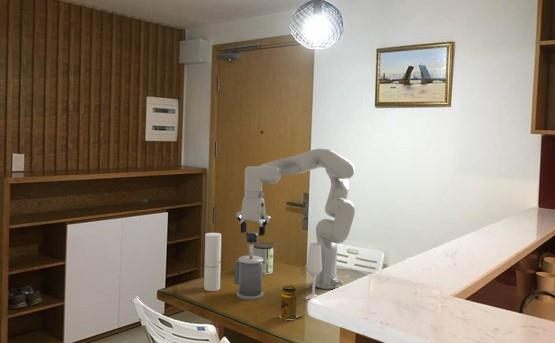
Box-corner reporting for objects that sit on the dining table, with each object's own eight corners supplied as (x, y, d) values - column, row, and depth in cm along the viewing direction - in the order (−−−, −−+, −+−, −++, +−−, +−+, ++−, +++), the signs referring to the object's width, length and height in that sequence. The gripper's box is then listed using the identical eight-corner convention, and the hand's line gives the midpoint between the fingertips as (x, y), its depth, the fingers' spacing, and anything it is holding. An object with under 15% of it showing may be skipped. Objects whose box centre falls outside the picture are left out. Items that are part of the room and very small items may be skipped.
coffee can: (254, 268, 259) (255, 242, 258) (273, 269, 258) (274, 243, 257) (251, 273, 249) (252, 246, 248) (271, 275, 248) (272, 247, 247)
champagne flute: (302, 296, 217) (305, 242, 215) (316, 294, 220) (318, 242, 218) (309, 301, 211) (312, 246, 209) (323, 299, 214) (326, 245, 212)
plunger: (259, 258, 216) (259, 233, 215) (252, 260, 212) (253, 234, 211) (249, 256, 219) (250, 231, 218) (243, 258, 214) (243, 233, 213)
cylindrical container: (222, 287, 226) (224, 233, 224) (214, 292, 219) (215, 236, 217) (209, 285, 229) (210, 232, 227) (201, 289, 222) (202, 234, 220)
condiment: (275, 317, 192) (277, 287, 191) (289, 311, 198) (290, 282, 197) (290, 322, 187) (291, 291, 186) (304, 316, 194) (305, 286, 193)
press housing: (268, 294, 218) (269, 258, 217) (253, 301, 208) (254, 263, 207) (243, 288, 225) (244, 253, 224) (227, 295, 216) (228, 258, 214)
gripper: (274, 195, 212) (274, 235, 213) (242, 192, 221) (241, 230, 222) (265, 197, 205) (264, 238, 207) (232, 194, 214) (231, 232, 216)
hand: (252, 233), depth 214 cm, fingers open, 9 cm apart
